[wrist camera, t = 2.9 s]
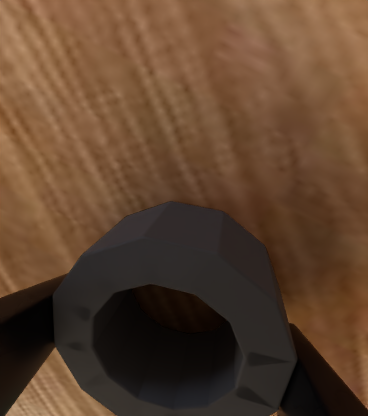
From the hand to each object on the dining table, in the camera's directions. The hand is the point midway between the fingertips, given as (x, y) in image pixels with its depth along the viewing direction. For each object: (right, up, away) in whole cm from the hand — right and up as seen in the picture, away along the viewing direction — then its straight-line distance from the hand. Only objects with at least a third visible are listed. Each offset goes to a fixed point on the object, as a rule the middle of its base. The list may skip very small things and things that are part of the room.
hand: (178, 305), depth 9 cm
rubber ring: (0, 0, +1) cm, 1 cm away
